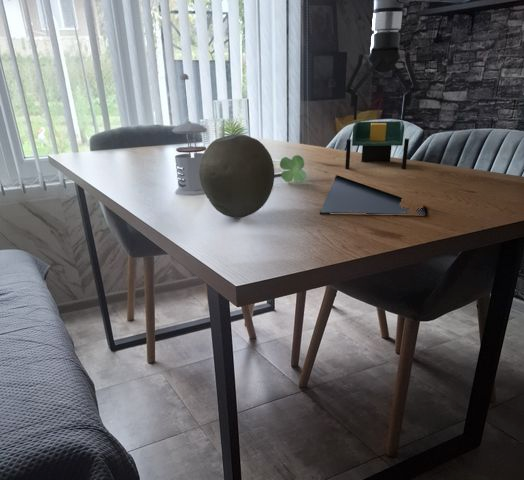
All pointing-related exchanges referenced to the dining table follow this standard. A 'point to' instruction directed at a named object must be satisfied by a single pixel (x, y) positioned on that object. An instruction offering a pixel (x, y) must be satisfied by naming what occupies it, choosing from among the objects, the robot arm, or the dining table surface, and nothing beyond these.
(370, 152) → the stand
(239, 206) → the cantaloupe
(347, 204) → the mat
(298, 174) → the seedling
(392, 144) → the green shallow box
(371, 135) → the block
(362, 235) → the dining table surface
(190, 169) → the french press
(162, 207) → the dining table surface
